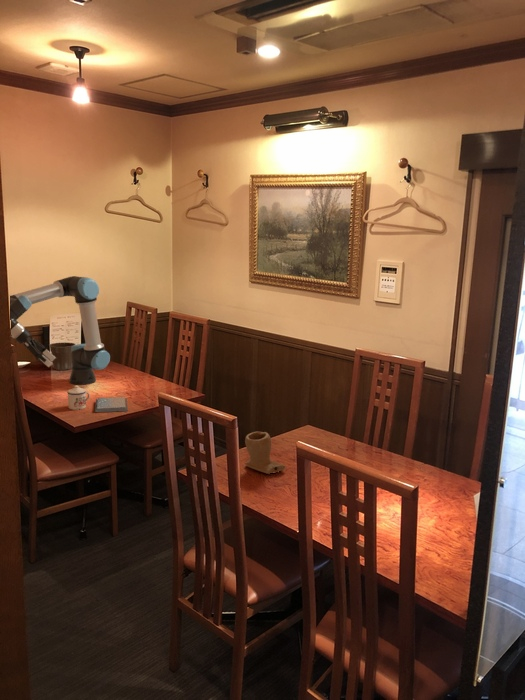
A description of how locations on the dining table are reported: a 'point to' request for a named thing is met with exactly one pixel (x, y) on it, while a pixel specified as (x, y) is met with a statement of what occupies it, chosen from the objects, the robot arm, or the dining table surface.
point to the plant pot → (62, 355)
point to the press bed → (111, 404)
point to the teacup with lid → (77, 398)
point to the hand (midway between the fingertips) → (52, 362)
